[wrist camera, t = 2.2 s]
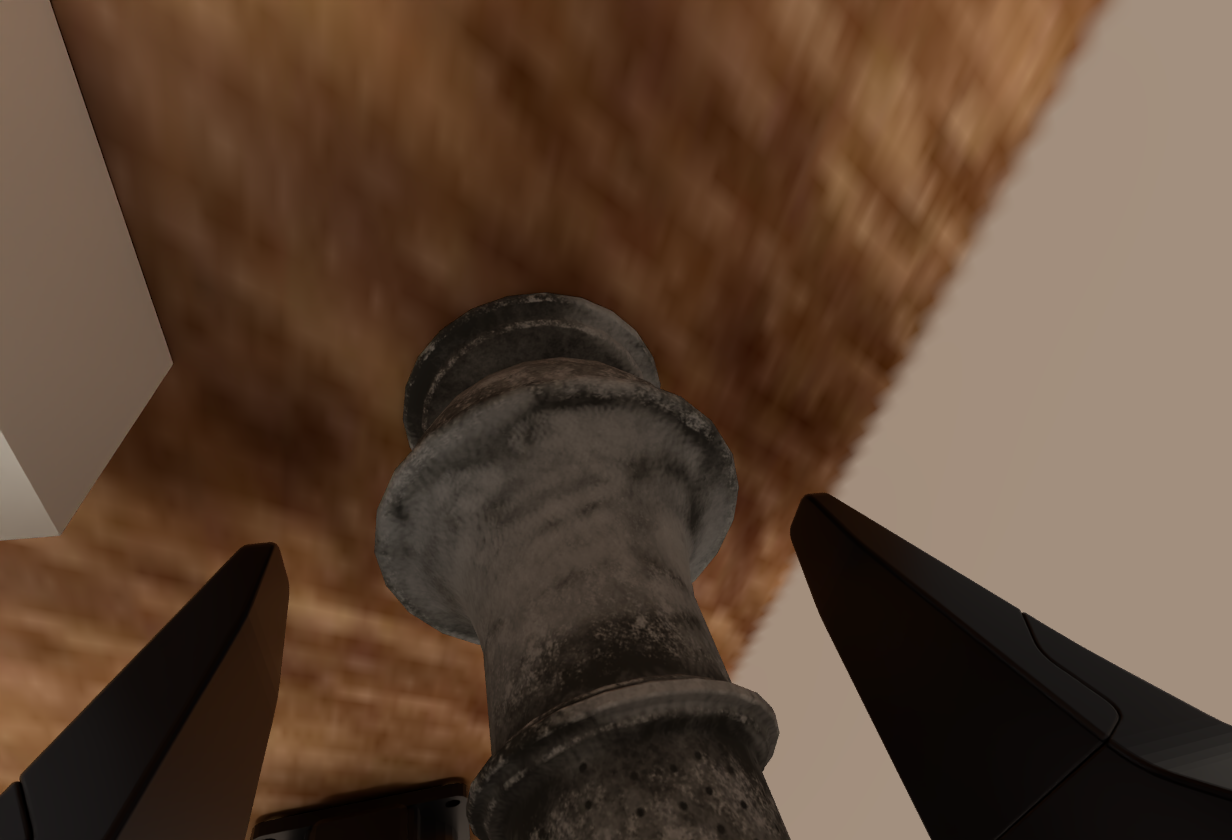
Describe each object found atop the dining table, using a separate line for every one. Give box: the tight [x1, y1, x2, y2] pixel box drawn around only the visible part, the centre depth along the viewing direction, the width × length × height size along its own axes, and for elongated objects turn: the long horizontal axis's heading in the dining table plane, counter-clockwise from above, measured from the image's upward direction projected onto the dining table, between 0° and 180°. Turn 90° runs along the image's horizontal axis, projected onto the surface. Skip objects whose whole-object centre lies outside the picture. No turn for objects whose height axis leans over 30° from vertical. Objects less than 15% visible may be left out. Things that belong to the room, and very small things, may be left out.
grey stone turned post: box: [374, 293, 790, 840], centre depth 8 cm, size 6×6×12 cm
